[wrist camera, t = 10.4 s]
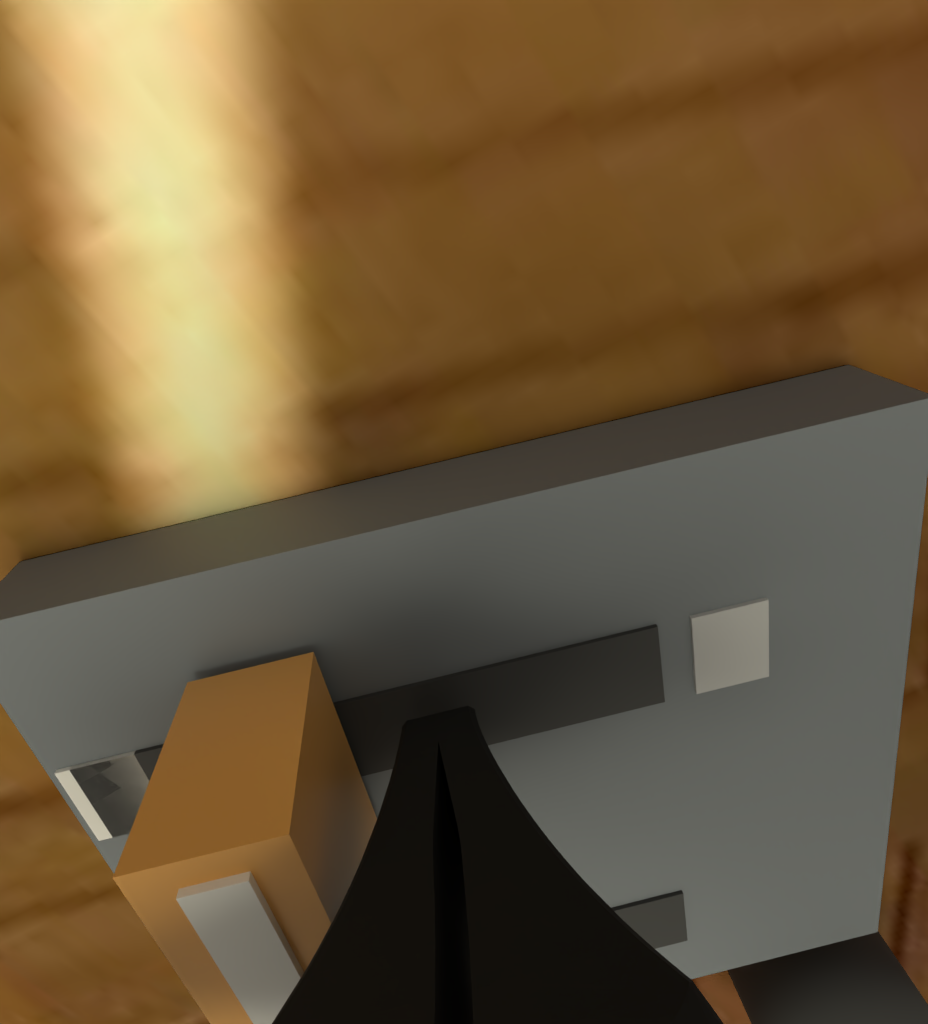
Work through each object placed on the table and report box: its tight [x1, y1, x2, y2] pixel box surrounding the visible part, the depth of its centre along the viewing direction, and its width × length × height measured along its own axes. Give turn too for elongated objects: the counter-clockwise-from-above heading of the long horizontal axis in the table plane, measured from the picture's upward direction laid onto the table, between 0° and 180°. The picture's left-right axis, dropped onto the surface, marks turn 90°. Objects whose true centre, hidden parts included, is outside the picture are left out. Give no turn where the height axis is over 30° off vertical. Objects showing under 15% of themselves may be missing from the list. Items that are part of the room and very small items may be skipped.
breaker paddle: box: [113, 652, 377, 1024], centre depth 12 cm, size 2×5×4 cm, turn 12°
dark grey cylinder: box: [728, 932, 928, 1024], centre depth 21 cm, size 5×5×5 cm
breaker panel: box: [0, 365, 928, 979], centre depth 15 cm, size 18×16×6 cm
